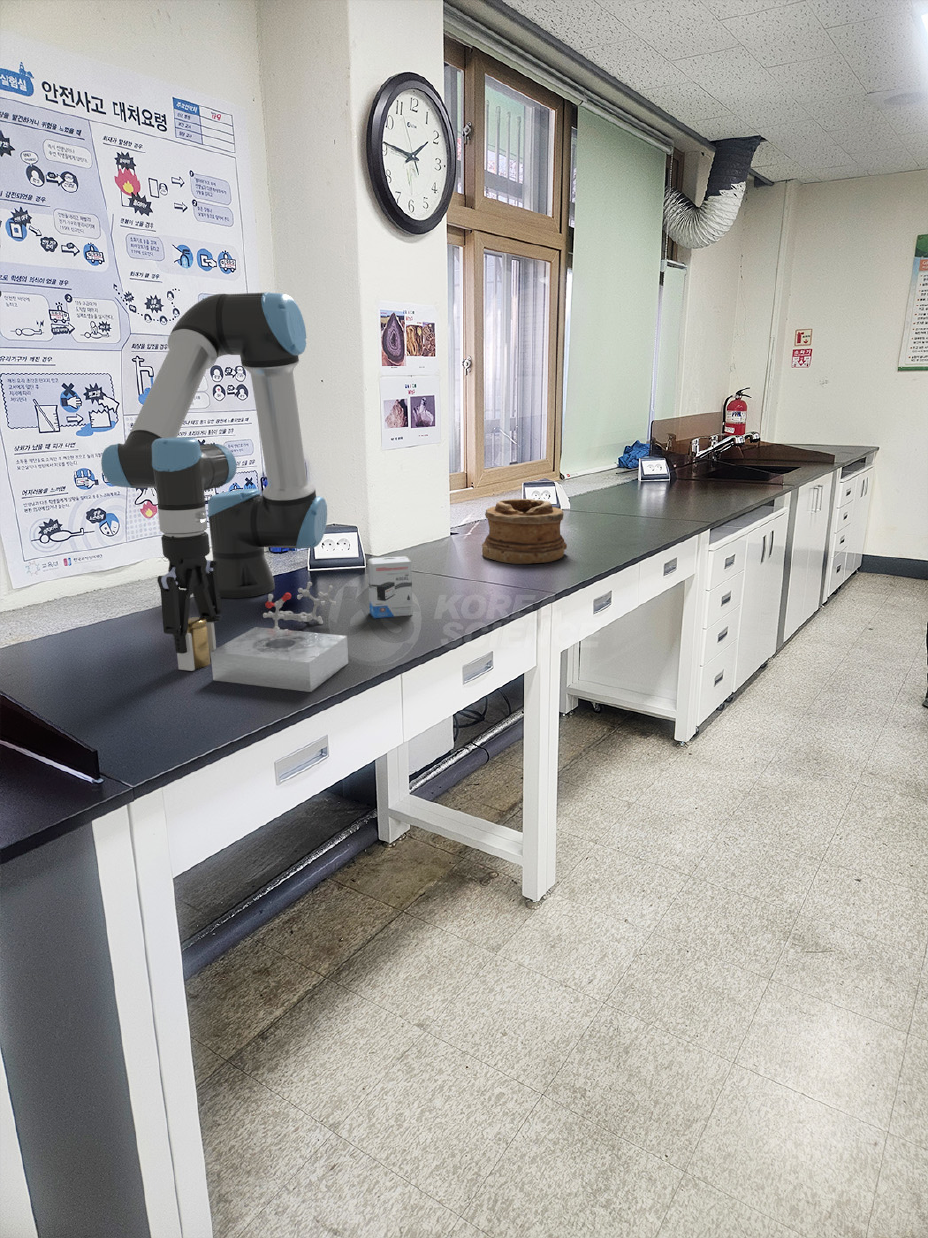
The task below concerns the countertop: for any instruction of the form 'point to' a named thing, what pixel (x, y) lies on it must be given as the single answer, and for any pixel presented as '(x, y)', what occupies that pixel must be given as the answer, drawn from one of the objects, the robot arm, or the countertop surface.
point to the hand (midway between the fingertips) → (198, 662)
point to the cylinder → (199, 641)
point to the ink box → (390, 587)
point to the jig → (280, 658)
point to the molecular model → (302, 616)
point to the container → (524, 532)
